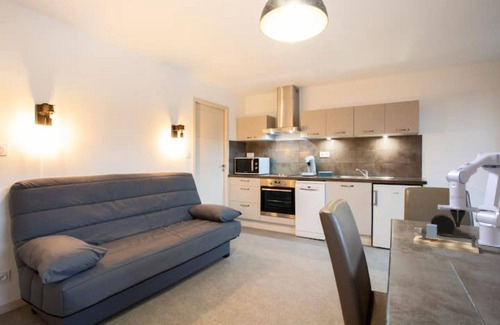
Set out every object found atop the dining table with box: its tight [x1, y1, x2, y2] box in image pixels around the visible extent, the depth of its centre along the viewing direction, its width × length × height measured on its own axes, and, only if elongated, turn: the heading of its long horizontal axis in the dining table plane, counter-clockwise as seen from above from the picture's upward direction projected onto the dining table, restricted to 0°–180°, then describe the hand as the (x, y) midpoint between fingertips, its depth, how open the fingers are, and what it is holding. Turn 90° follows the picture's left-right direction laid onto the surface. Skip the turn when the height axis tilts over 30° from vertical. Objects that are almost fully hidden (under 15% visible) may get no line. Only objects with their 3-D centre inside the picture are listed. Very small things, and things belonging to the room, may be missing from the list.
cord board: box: [412, 226, 480, 254], centre depth 122 cm, size 24×10×6 cm, turn 52°
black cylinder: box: [430, 213, 456, 235], centre depth 151 cm, size 10×34×10 cm, turn 143°
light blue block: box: [426, 223, 438, 239], centre depth 125 cm, size 4×4×6 cm
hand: (457, 226), depth 116 cm, fingers closed
